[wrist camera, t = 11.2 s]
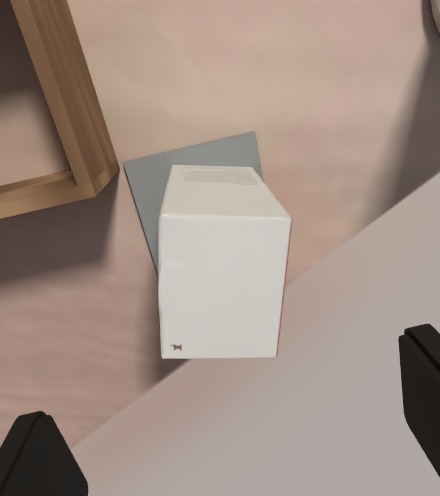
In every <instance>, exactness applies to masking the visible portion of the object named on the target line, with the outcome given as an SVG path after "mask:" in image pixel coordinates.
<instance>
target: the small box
mask: <svg viewBox="0 0 440 496" xmlns="http://www.w3.org/2000/svg"><path fill="white" fill-rule="evenodd" d="M291 225H292V218H291V217H290V216H289V214H288V213H287V212H286V210H285V209H284V208H283V206H282V205H281V204H280V203H279V201H278V200H277V199H276V197H275V196H274V195H273V194H272V192H271V191H270V190H269V188H268V187H267V186H266V185H265V183H264V182H263V181H262V179H261V178H260V177H259V175H258V174H257V173H256V172H255V170H254V169H253V168H252V167H231V166H196V165H172V166H171V169H170V173H169V178H168V181H167V185H166V189H165V193H164V197H163V201H162V205H161V209H160V214H159V219H158V299H159V305H158V306H159V315H160V340H161V357H162V359H209V358H210V359H212V358H214V359H215V358H262V357H263V358H264V357H272V358H273V357H276V356H277V353H278V345H279V336H280V327H281V318H282V308H283V299H284V291H285V282H286V273H287V263H288V254H289V244H290V235H291Z"/></svg>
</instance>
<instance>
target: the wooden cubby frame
mask: <svg viewBox="0 0 440 496" xmlns="http://www.w3.org/2000/svg"><path fill="white" fill-rule="evenodd" d="M10 2H11V4H12V7H13V10H14V13H15V15H16V18H17V21H18V24H19V26H20V29H21V32H22V35H23V37H24V40H25V43H26V46H27V48H28V51H29V54H30V57H31V59H32V62H33V65H34V68H35V70H36V73H37V76H38V79H39V81H40V84H41V87H42V90H43V92H44V95H45V98H46V101H47V103H48V106H49V109H50V112H51V114H52V117H53V120H54V123H55V125H56V128H57V131H58V134H59V136H60V139H61V142H62V145H63V147H64V150H65V153H66V156H67V158H68V161H69V164H70V167H71V169H72V170H67V171H63V172H59V173H55V174H50V175H46V176H42V177H37V178H33V179H29V180H24V181H20V182H16V183H11V184H7V185H3V186H0V219H1V218H5V217H9V216H14V215H18V214H23V213H27V212H31V211H36V210H40V209H44V208H49V207H53V206H57V205H62V204H66V203H70V202H75V201H79V200H84V199H88V198H92V197H96V196H97V195H98V194H99V193H100V192H101V190H102V189H103V188H104V187H105V186H106V185H107V184H108V182H109V181H110V180H111V179H112V178H113V177H114V176H115V175H116V173H117V172H118V171H119V170H120V168H119V165H118V162H117V159H116V155H115V152H114V149H113V146H112V143H111V140H110V136H109V133H108V130H107V127H106V124H105V121H104V117H103V114H102V111H101V108H100V105H99V102H98V98H97V95H96V92H95V89H94V86H93V83H92V79H91V76H90V73H89V70H88V67H87V64H86V60H85V57H84V54H83V51H82V48H81V45H80V41H79V38H78V35H77V32H76V29H75V26H74V22H73V19H72V16H71V13H70V10H69V7H68V3H67V0H10Z"/></svg>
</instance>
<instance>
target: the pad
mask: <svg viewBox="0 0 440 496" xmlns="http://www.w3.org/2000/svg"><path fill="white" fill-rule="evenodd" d="M123 164H124V167H125V170H126V173H127V176H128V180H129V183H130V186H131V189H132V193H133V196H134V199H135V202H136V205H137V209H138V212H139V215H140V218H141V222H142V225H143V228H144V231H145V235H146V238H147V241H148V244H149V247H150V251H151V254H152V257H153V260H154V264H155V267H156V270H157V273H158V219H159V214H160V209H161V205H162V201H163V197H164V193H165V189H166V185H167V181H168V178H169V173H170V169H171V166H172V165H196V166H231V167H252V168H253V169H254V170H255V172H256V173H257V174H258V175H259V177H260V178H261V179H262V181H263V176H262V170H261V164H260V159H259V153H258V147H257V142H256V136H255V132H250V133H246V134H241V135H237V136H233V137H228V138H224V139H220V140H215V141H211V142H207V143H202V144H198V145H194V146H189V147H185V148H181V149H176V150H172V151H168V152H163V153H159V154H155V155H150V156H146V157H142V158H137V159H133V160H129V161H125V162H123ZM263 182H264V181H263Z"/></svg>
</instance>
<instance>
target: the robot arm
mask: <svg viewBox="0 0 440 496" xmlns="http://www.w3.org/2000/svg"><path fill="white" fill-rule="evenodd" d="M431 8H432V14H433V17H434V20H435V23H436V26H437V29H438V32H439V33H440V0H431ZM399 352H400V366H401V380H402V393H403V406H404V414H405V418H406V421H407V424H408V426H409V428H410V429H411V431H412V432H413V434H414V436H415V437H416V439H417V441H418V442H419V444H420V446H421V447H422V449H423V451H424V452H425V454H426V456H427V457H428V459H429V461H430V462H431V464H432V465H433V467H434V469H435V470H436V472H437V474H438V475H439V477H440V334H439V333H438V332H437V330H436V329H435V328H434V327H433V326H431V325H430V324H424V325H419V326H415V327H411V328H407V329H405V331H404V335H402V336H399ZM0 496H88V484H87V481H86V479H85V477H84V475H83V473H82V472H81V469H80V468H79V466H78V464H77V462H76V460H75V459H74V457H73V455H72V453H71V451H70V449H69V447H68V445H67V444H66V442H65V440H64V438H63V436H62V434H61V433H60V431H59V429H58V427H57V425H56V423H55V421H54V420H53V418H52V417H51V416H50V415H46V414H45V413H44V412H43V411H38V412H34V413H29V414H25V415H20V416H19V417H17V419H16V420H15V422H14V423H13V425H12V427H11V429H10V431H9V433H8V435H7V436H6V438H5V440H4V442H3V444H2V446H1V447H0Z"/></svg>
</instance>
